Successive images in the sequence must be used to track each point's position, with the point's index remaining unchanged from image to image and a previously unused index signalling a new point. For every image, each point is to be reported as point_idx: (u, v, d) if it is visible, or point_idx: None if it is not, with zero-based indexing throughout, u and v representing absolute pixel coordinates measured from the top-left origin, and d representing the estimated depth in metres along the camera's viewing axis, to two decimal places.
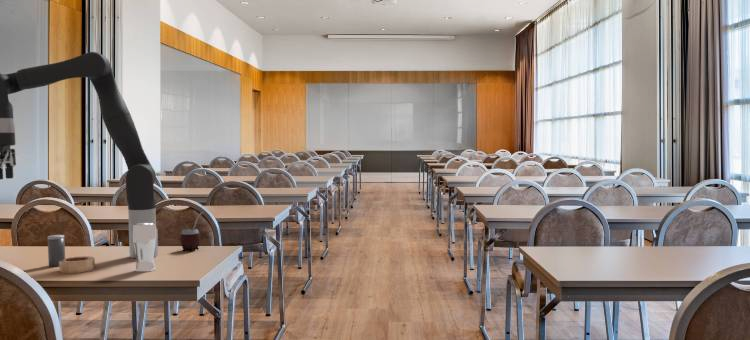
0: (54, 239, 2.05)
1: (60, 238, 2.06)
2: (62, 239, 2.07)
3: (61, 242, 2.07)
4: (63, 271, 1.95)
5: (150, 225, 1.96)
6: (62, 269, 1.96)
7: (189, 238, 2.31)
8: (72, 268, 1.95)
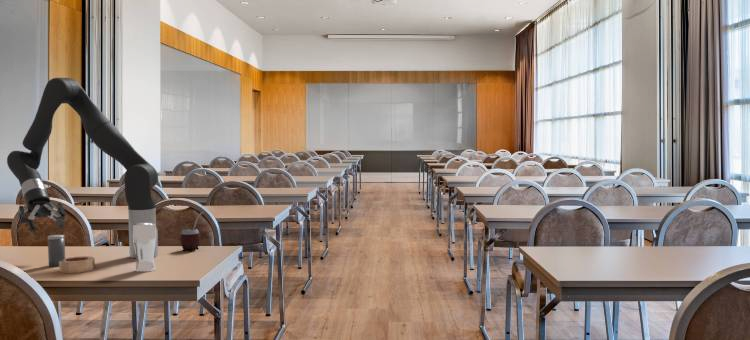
0: (54, 239, 2.05)
1: (60, 238, 2.06)
2: (62, 239, 2.07)
3: (61, 242, 2.07)
4: (63, 271, 1.95)
5: (150, 225, 1.96)
6: (62, 269, 1.96)
7: (189, 238, 2.31)
8: (72, 268, 1.95)
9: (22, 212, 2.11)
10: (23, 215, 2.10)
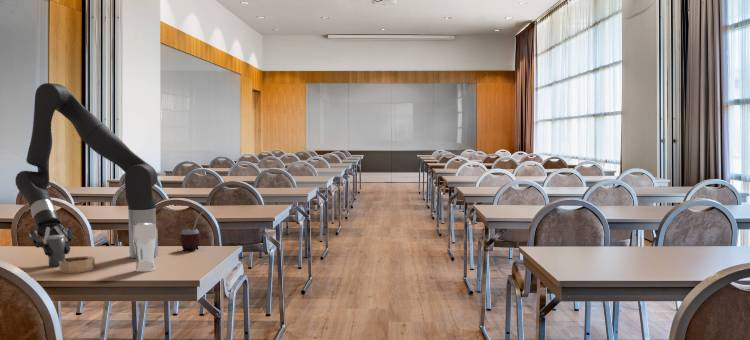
0: (54, 239, 2.05)
1: (60, 238, 2.06)
2: (62, 239, 2.07)
3: (61, 242, 2.07)
4: (63, 271, 1.95)
5: (150, 225, 1.96)
6: (62, 269, 1.96)
7: (189, 238, 2.31)
8: (72, 268, 1.95)
9: (35, 237, 2.05)
10: (38, 240, 2.05)
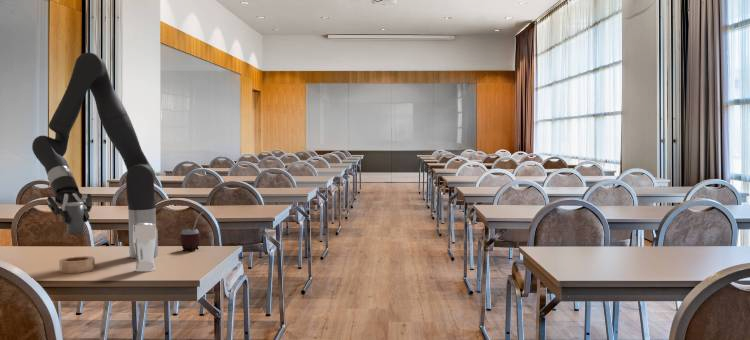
0: (73, 206, 1.97)
1: (79, 205, 1.98)
2: (81, 206, 1.99)
3: (80, 209, 1.98)
4: (63, 271, 1.95)
5: (150, 225, 1.96)
6: (62, 269, 1.96)
7: (189, 238, 2.31)
8: (72, 268, 1.95)
9: (53, 203, 1.97)
10: (56, 206, 1.96)
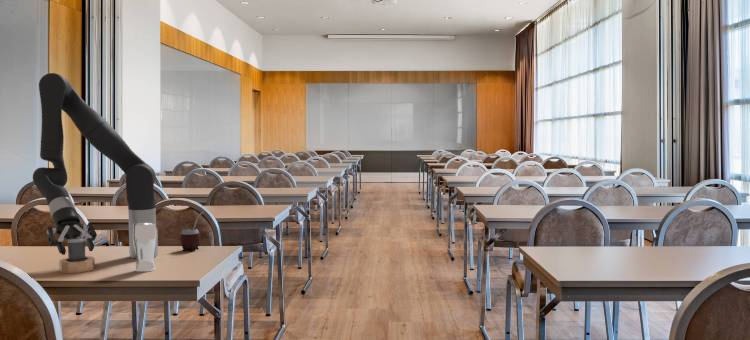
0: (74, 242, 1.97)
1: (80, 241, 1.98)
2: (82, 242, 1.99)
3: (82, 245, 1.99)
4: (63, 271, 1.95)
5: (150, 225, 1.96)
6: (62, 269, 1.96)
7: (189, 238, 2.31)
8: (72, 268, 1.95)
9: (51, 234, 1.97)
10: (52, 237, 1.96)
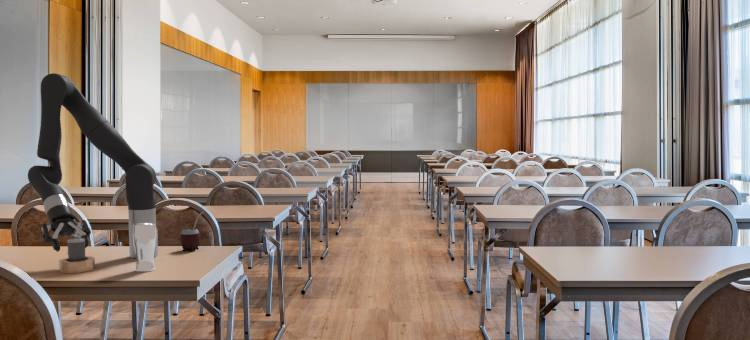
0: (74, 243, 1.97)
1: (80, 241, 1.98)
2: (82, 242, 1.99)
3: (82, 245, 1.99)
4: (63, 271, 1.95)
5: (150, 225, 1.96)
6: (62, 269, 1.96)
7: (189, 238, 2.31)
8: (72, 268, 1.95)
9: (46, 231, 2.00)
10: (47, 234, 2.00)
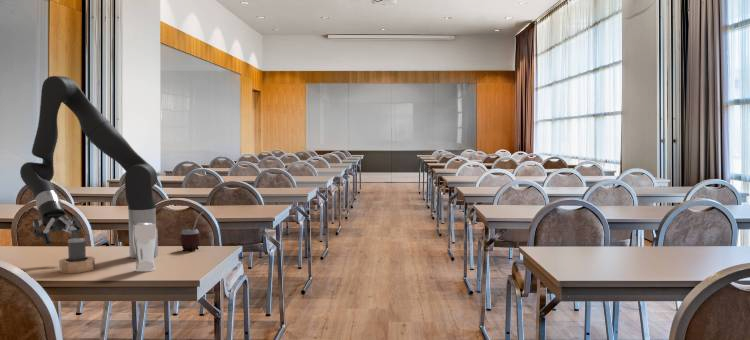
0: (75, 242, 1.97)
1: (81, 241, 1.98)
2: (83, 242, 1.99)
3: (82, 245, 1.99)
4: (63, 271, 1.95)
5: (150, 225, 1.96)
6: (62, 269, 1.96)
7: (189, 238, 2.31)
8: (72, 268, 1.95)
9: (37, 226, 2.06)
10: (38, 229, 2.05)
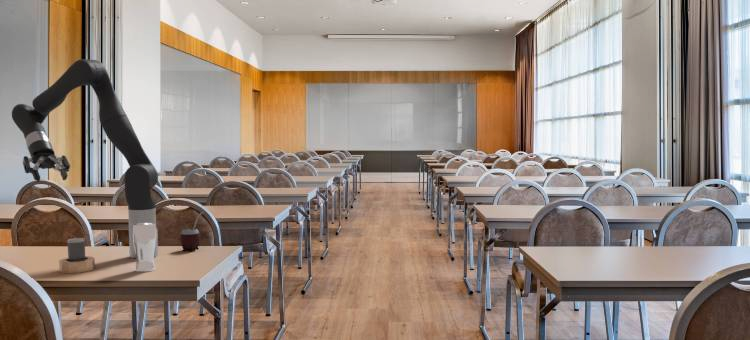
0: (74, 243, 1.97)
1: (80, 241, 1.98)
2: (82, 242, 1.99)
3: (81, 245, 1.99)
4: (63, 271, 1.95)
5: (150, 225, 1.96)
6: (62, 269, 1.96)
7: (189, 238, 2.31)
8: (72, 268, 1.95)
9: (27, 162, 2.13)
10: (28, 165, 2.12)
